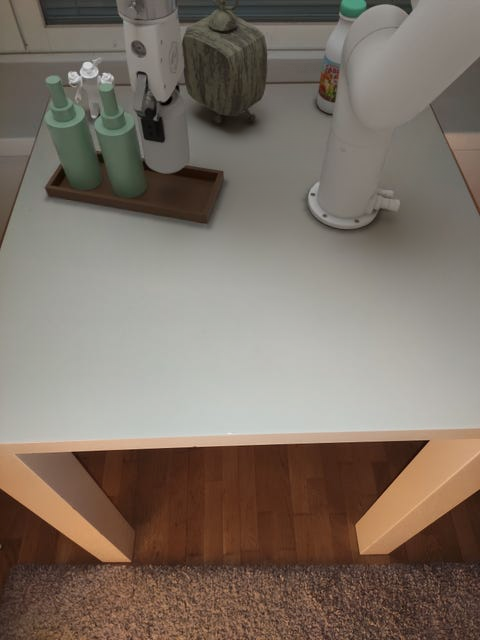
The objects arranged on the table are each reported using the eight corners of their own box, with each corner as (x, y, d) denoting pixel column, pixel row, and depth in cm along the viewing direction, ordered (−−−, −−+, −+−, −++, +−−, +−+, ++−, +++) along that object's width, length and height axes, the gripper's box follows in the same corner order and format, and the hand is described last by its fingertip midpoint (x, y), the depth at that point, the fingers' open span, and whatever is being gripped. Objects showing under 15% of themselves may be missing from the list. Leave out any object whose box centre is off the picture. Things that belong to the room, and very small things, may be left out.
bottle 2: (151, 177, 88) (133, 78, 72) (140, 201, 85) (118, 102, 69) (119, 172, 89) (93, 72, 73) (106, 195, 85) (76, 96, 69)
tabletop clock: (264, 121, 98) (272, -15, 77) (235, 142, 95) (236, 4, 74) (212, 94, 103) (207, -41, 82) (183, 113, 100) (170, -23, 79)
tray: (223, 182, 88) (223, 170, 86) (207, 226, 82) (206, 215, 80) (75, 157, 92) (71, 146, 90) (49, 198, 86) (44, 187, 83)
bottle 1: (108, 170, 89) (81, 70, 73) (95, 193, 85) (63, 94, 70) (76, 165, 90) (42, 65, 74) (62, 187, 86) (23, 88, 70)
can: (183, 180, 77) (176, 113, 67) (139, 173, 78) (126, 106, 68) (195, 151, 81) (190, 84, 71) (153, 144, 82) (142, 77, 72)
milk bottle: (315, 94, 104) (331, -9, 87) (350, 95, 104) (373, -8, 87) (317, 115, 100) (334, 11, 83) (354, 116, 100) (378, 13, 83)
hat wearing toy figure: (123, 112, 100) (111, 54, 90) (120, 124, 98) (106, 66, 88) (81, 110, 100) (64, 53, 90) (76, 122, 98) (58, 64, 88)
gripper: (152, 36, 54) (169, 163, 69) (194, -29, 63) (201, 96, 78) (90, 27, 55) (120, 155, 70) (141, -35, 64) (157, 89, 79)
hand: (163, 123), depth 74 cm, fingers closed on can, 7 cm apart
